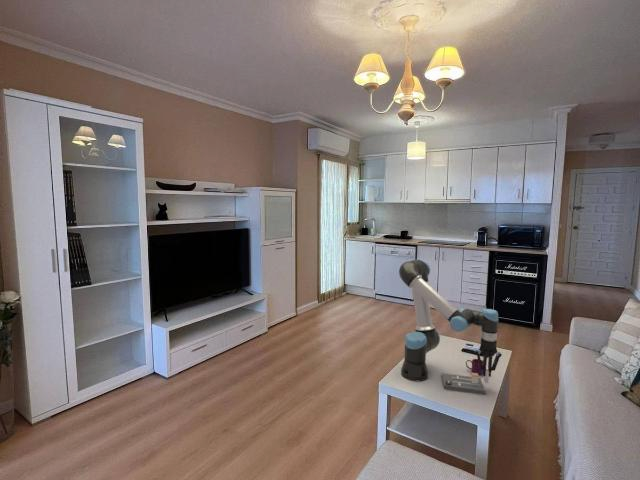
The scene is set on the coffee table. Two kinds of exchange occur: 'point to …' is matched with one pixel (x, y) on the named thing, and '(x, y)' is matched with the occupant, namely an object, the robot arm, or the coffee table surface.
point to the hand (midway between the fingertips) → (486, 381)
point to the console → (462, 383)
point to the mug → (475, 366)
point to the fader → (474, 378)
